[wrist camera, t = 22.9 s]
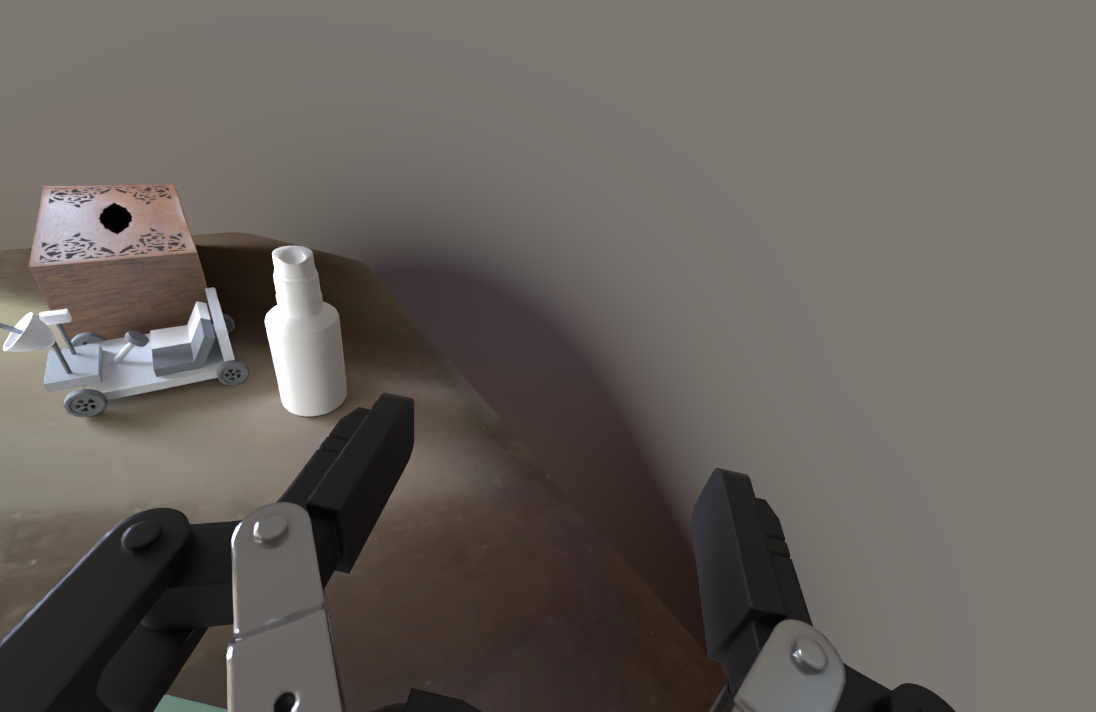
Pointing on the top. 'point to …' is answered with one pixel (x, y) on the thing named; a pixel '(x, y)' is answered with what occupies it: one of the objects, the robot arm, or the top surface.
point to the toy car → (130, 356)
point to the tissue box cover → (116, 258)
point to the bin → (184, 706)
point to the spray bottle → (304, 337)
